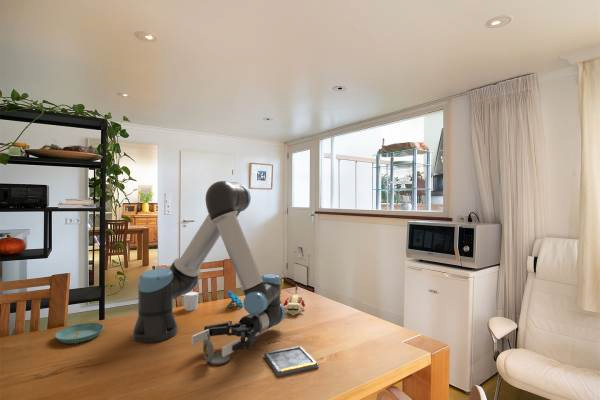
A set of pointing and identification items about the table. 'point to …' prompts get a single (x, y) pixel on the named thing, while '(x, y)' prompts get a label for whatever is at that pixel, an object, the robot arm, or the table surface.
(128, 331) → the table surface
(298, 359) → the pocket plate
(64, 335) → the saucer
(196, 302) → the white cup
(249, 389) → the table surface
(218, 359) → the pocket watch
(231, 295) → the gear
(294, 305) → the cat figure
